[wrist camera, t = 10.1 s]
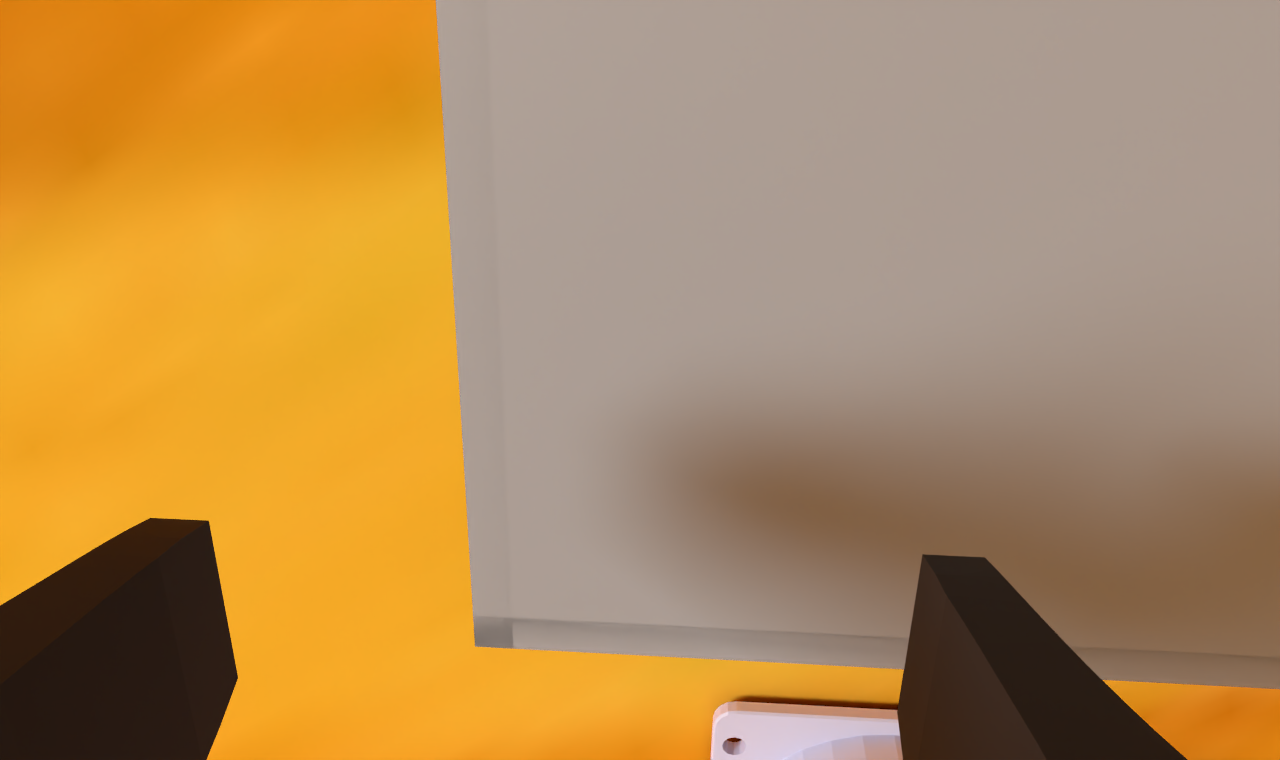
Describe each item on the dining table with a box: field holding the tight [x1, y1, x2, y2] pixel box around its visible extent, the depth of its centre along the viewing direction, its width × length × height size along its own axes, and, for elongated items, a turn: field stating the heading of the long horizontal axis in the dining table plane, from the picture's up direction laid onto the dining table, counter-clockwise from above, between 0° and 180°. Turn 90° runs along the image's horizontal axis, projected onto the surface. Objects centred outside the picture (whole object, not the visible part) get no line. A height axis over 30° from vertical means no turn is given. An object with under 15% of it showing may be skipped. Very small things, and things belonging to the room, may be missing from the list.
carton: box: [436, 0, 1280, 689], centre depth 16 cm, size 15×16×6 cm
